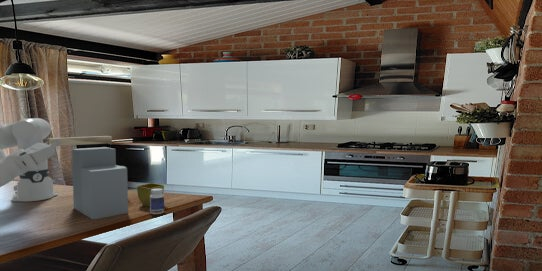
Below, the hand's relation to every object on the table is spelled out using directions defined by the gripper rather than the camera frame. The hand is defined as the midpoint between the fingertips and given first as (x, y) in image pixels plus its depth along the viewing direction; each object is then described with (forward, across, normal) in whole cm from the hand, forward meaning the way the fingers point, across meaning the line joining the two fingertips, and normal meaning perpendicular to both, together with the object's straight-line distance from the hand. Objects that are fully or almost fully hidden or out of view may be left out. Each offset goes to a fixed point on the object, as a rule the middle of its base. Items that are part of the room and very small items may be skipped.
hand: (58, 140), depth 149 cm
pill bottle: (+10, +26, -41) cm, 50 cm away
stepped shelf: (-3, +6, -33) cm, 34 cm away
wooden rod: (+7, 0, -6) cm, 9 cm away
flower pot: (+14, +12, -43) cm, 47 cm away
